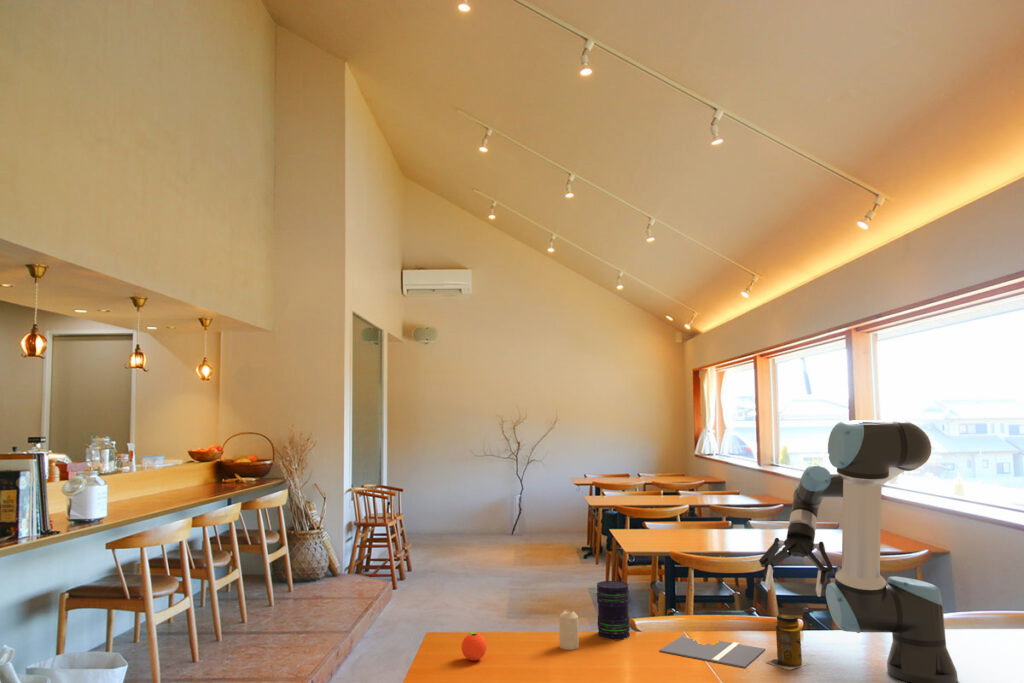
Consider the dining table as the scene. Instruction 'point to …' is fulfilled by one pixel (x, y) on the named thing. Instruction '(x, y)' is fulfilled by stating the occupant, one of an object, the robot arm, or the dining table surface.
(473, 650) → the clementine
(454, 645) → the dining table surface
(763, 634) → the dining table surface
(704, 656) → the mat
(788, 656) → the condiment
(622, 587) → the storage jar
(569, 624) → the candle
